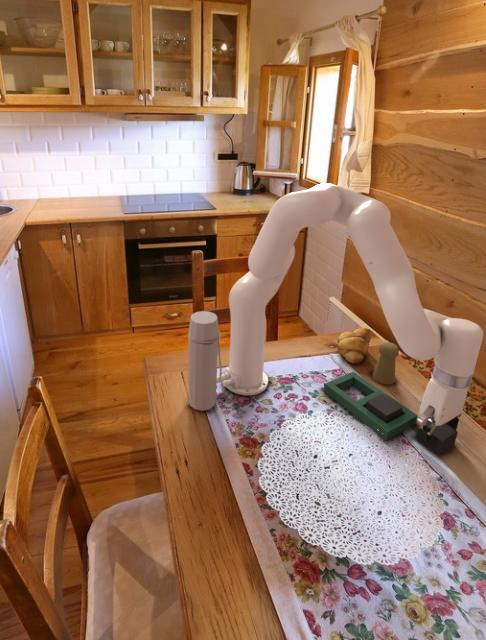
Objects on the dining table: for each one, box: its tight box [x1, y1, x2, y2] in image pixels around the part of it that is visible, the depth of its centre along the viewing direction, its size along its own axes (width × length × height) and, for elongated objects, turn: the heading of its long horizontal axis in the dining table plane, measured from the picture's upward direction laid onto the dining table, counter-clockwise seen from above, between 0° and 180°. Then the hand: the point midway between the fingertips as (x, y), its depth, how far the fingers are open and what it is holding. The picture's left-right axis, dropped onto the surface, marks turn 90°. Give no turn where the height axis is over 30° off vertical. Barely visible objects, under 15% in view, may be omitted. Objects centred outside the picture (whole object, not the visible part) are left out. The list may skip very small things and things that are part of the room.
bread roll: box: [337, 327, 372, 364], centre depth 127 cm, size 13×10×8 cm
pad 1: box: [365, 394, 403, 424], centre depth 101 cm, size 6×6×4 cm
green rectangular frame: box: [323, 371, 419, 441], centre depth 105 cm, size 11×20×2 cm, turn 31°
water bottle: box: [187, 310, 223, 412], centre depth 102 cm, size 9×8×25 cm
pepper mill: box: [372, 341, 400, 385], centre depth 115 cm, size 6×6×11 cm
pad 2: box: [414, 416, 459, 456], centre depth 94 cm, size 6×6×4 cm
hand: (436, 436), depth 94 cm, fingers open, 9 cm apart
